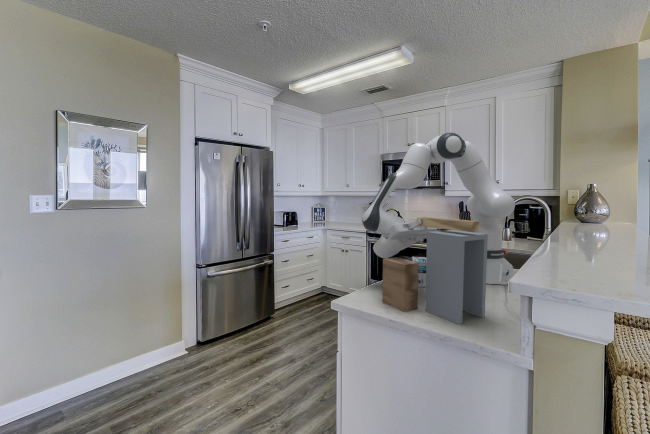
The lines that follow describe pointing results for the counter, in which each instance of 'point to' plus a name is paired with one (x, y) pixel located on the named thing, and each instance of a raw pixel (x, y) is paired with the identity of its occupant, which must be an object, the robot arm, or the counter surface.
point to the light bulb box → (421, 270)
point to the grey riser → (456, 274)
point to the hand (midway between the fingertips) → (426, 220)
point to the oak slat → (450, 224)
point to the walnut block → (400, 283)
